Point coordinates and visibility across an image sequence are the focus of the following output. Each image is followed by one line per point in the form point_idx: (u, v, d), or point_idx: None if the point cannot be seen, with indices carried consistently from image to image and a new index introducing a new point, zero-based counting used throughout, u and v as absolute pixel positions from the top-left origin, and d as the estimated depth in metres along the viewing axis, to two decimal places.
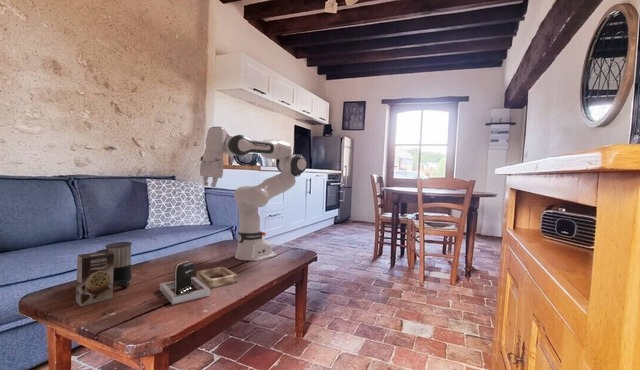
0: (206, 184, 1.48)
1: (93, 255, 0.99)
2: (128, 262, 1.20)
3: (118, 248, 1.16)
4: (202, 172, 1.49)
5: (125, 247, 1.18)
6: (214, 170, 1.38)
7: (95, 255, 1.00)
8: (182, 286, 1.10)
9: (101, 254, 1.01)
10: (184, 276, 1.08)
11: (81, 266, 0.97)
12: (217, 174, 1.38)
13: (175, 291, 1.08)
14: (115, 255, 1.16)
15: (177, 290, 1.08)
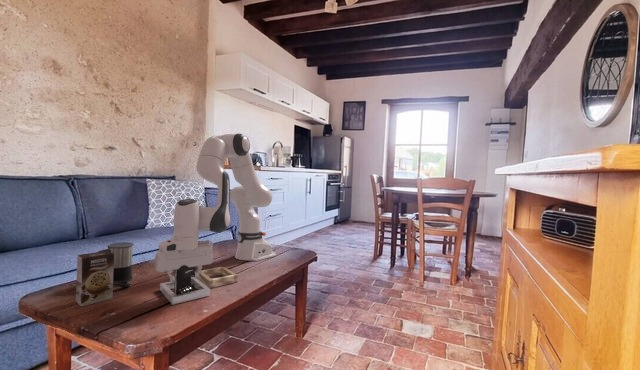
0: None
1: (93, 255, 0.99)
2: (129, 263, 1.20)
3: (120, 248, 1.17)
4: (168, 266, 1.05)
5: (127, 248, 1.19)
6: (208, 256, 1.15)
7: (95, 255, 1.00)
8: (182, 286, 1.10)
9: (101, 254, 1.01)
10: (184, 276, 1.08)
11: (81, 266, 0.97)
12: None
13: (175, 291, 1.08)
14: (116, 255, 1.16)
15: (177, 290, 1.08)
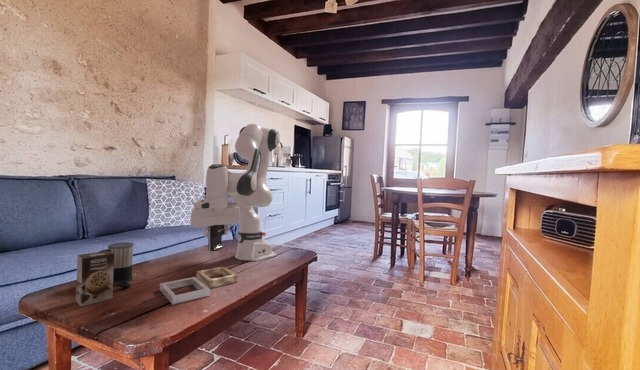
0: None
1: (93, 255, 0.99)
2: (130, 263, 1.20)
3: (120, 248, 1.17)
4: (202, 222, 1.18)
5: (127, 248, 1.18)
6: (236, 216, 1.28)
7: (95, 255, 1.00)
8: (215, 244, 1.24)
9: (101, 254, 1.01)
10: (217, 234, 1.22)
11: (81, 266, 0.97)
12: None
13: (210, 248, 1.22)
14: (117, 255, 1.16)
15: (211, 247, 1.22)
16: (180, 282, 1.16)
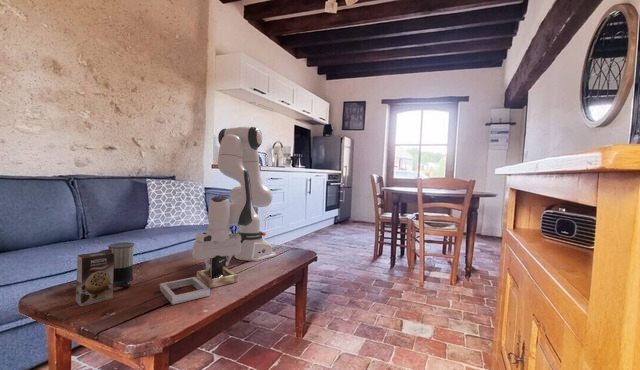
0: None
1: (93, 255, 0.99)
2: (130, 263, 1.20)
3: (120, 248, 1.16)
4: (204, 255, 1.19)
5: (127, 248, 1.18)
6: (237, 247, 1.29)
7: (95, 255, 1.00)
8: (216, 274, 1.25)
9: (101, 254, 1.01)
10: (218, 265, 1.23)
11: (81, 266, 0.97)
12: None
13: (211, 278, 1.23)
14: (117, 255, 1.16)
15: (212, 277, 1.23)
16: (180, 282, 1.16)
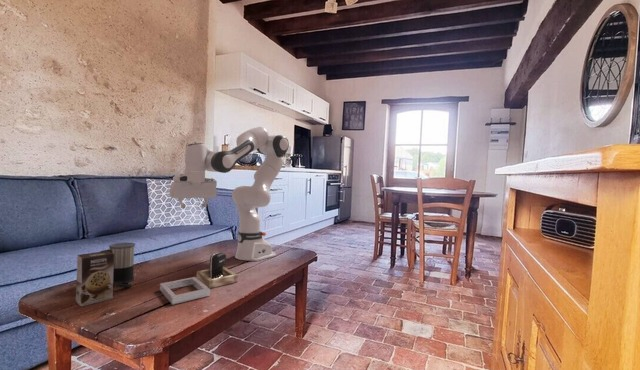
0: None
1: (93, 255, 0.99)
2: (131, 263, 1.20)
3: (121, 249, 1.16)
4: (180, 194, 1.30)
5: (128, 248, 1.18)
6: (213, 191, 1.40)
7: (95, 255, 1.00)
8: (216, 274, 1.25)
9: (101, 254, 1.01)
10: (218, 265, 1.23)
11: (81, 266, 0.97)
12: None
13: (211, 278, 1.23)
14: (118, 256, 1.16)
15: (212, 277, 1.23)
16: (180, 282, 1.16)
